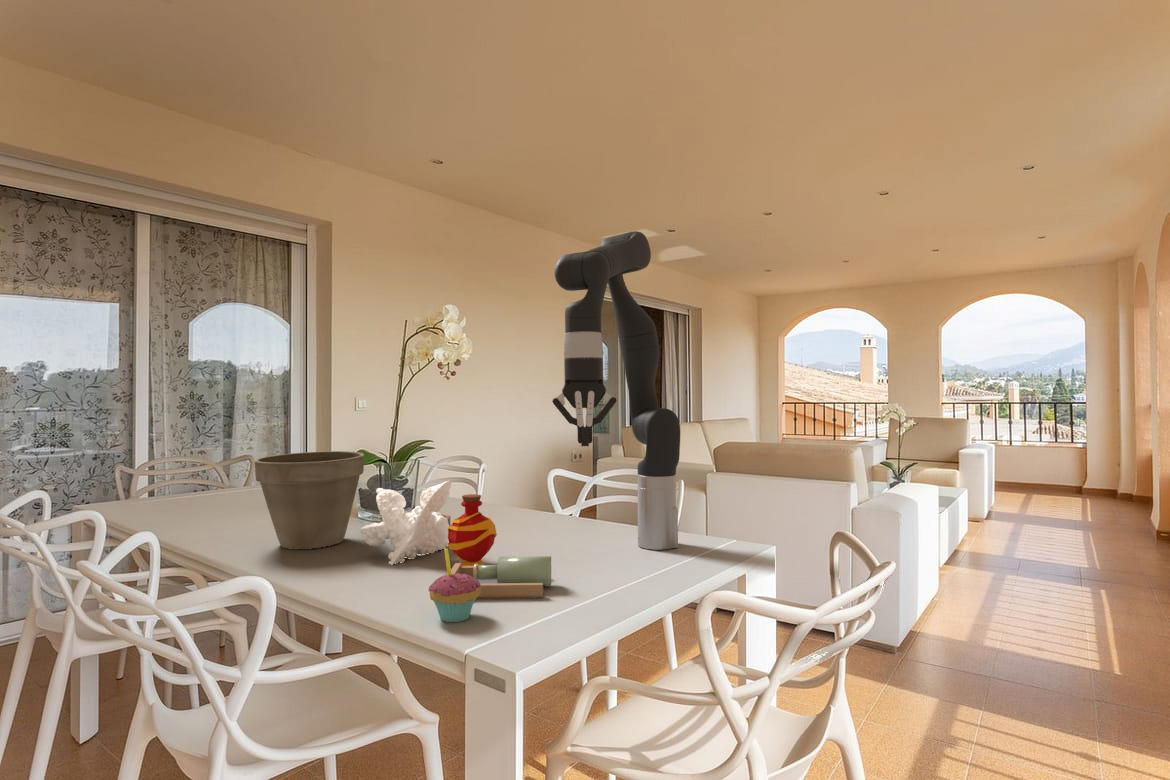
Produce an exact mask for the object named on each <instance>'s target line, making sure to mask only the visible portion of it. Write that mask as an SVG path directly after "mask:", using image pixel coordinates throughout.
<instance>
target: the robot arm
mask: <svg viewBox="0 0 1170 780" xmlns="http://www.w3.org/2000/svg"><path fill="white" fill-rule="evenodd" d="M600 244H601V245H599V246H597V247H594V248H592V249H589V250H586V251H582V252H581V251H580V252H574V253H567V254H564V255H562V256H560V258H559V259H558V260H557V262H556V263H555V265H554V266H555V267H554V279H555V281H556V283H557V284H558V285H559V287H560V288H561V289H563V290H565V291H570V292H576V291H585V290H586V294H585V295H584V297H583V298H581V299H580V300H577V301H574V302H570V303H568V304H567V305H566V307H565V309H564V332H565V333H564V336H565V337H564V343H563V350H564V351H563V357H564V358H563V360H564V367H563V369H564V384H563V387H562V390H561V393H560V394H559V395H558V396H556V397H554V398H553V399H552V404H553V405H554V406H555V408H556V409H557V410H558V411H559V412H560V414H561V415H562V416H563V418H564V419H565V420H566V421H567V422H568V424H571V425H574V426H576V429H577V442H578V444H581V445H580V446H581V447H590V444H592V443H593V427H594V426H595V425H598V424H600V423H601V422H602V421H603V420H604V418H605V417H606V416H607V415H608V413H609V412H610V411H611V409H612V408H613V407H614V405H615V404H616V403H617V401H618V400H617V398H616V397H614V396H612V395H611V394H609V393H608V392H607V388H606V386H605V384H604V346H603V344H604V343H603V335H602V310H603V309H602V308H603V303H604V299H605V293H606V291H607V288H608V290H609V293H610V297H611V300H612V302H611V303H612V307H613V311H614V317H615V322H616V323H615V324H616V330H617V336H618V341H619V349H620V355H621V356H622V357H621V358H622V361H623V367H624V374H625V380H626V385H627V389H628V390H627V391H628V399H629V413H630V423H631V431H632V433H633V435H634V437H635V439H636V440H637V441H638V442H639V443H641V444H642V445H645V455H644V457H643V459H642V460H641V461H639V462H638V464H637V545H638V547H639V548H643V549H647V550H653V551H654V550H656V551H657V550H658V551H659V550H660V551H661V550H670V549H678V548H679V508H678V507H677V467H678V465H679V462H680V451H681V449H680V448H681V424H680V423H681V422H680V420H679V418H678V416H677V414H676V412H674V411H673V410H671V409H668V408H665V407H659V403H658V399H657V398H658V396H657V393H656V377H657V372H658V367H659V361H660V344H659V337H658V334H657V327H656V324H655V322H654V321H653V319H652V318H651V317H650V315H649V314H648V313H647V312H646V311H645V310H644V308H642V306H640V305H639V303H638V302H637V301H636V300H635V299H634V297H633V296H632V295H631V294H630V291H629V290H628V287H627V285H626V282H625V279H624V275H625V274H629V273H635V272H638V271H641V270H644V269H646V268H647V267H648V266H649V264H650V262H651V259H652V257H651V256H652V254H651V253H652V251H651V246H650V243H649V240H648V239H647V236H646V235H645V234H644V233H642V232H641V231H638V230H636V231H634V230H633V231H628V232H625V233H621V234H616V235H612V236H610V237H609V236H608V237H606V238H603V240H602V241H601V243H600ZM603 398H604V399H603ZM565 399H566V400H567V401H568V402H569V404H570V406H571V408H573V409H575V415H576V416H575V417H573V416H572V414H570V412H569V411H568V410H567V408H566V407H565V405H566V401H565ZM602 399H603V402H602V403H603V407H602V408H601V409H600V411H599V412H598V413H597V414H596V416H594V409H596V407H597V406H598V405H599V403H600V402H601V401H602ZM583 409H586V410H585V421H584V413H583ZM584 422H585V423H584Z"/></svg>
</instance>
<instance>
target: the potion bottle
mask: <svg viewBox="0 0 1170 780" xmlns="http://www.w3.org/2000/svg"><path fill="white" fill-rule="evenodd" d="M461 497H462V502H461V503H460V504H461V505H460V506H461V507H464V513H463V514H461V515H460V516H459V517H457V518H454V519H453V520H452V522H451V523H450V526H449V527H448V543H447V548H448V550H450V551H451V550H452V551H453V553H454V555H455V556H456V557H457V559H460V560H461V562H460V563H461V566H474V564H478V565H485V563H484V562H483V561H482V559H483V558H484V557H485V556H486V555H487V554H488V553H489V551H491V549H492V547H493V546H494V543H495V539H496V537H497V535H498V534H497V529H496V525H495V523H494V522H493V520H492V519H491V517H487V516H485V515H483V513H482V512H480V511H479V507H480V506H482V504H483V501H482V500H481V499H482V495H481V494H478V493H477V494H476V493H474V494H473V493H469V494H463V495H462V496H461Z"/></svg>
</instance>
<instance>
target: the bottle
mask: <svg viewBox="0 0 1170 780" xmlns="http://www.w3.org/2000/svg"><path fill="white" fill-rule="evenodd" d="M497 558H498V559H497V564H484V565H478V564H474V570H473V577H474V578H475V579H478V578H497V583H543V586H544V587H545V586H547V587H548V586H552V556H551V555H550V556H549V555H548V556H547V555H546V556H544V555H542V556H541V555H536V556H533V555H531V556H498V557H497Z"/></svg>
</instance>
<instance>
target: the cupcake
mask: <svg viewBox="0 0 1170 780" xmlns="http://www.w3.org/2000/svg"><path fill="white" fill-rule="evenodd" d="M444 545H445V549H444V550H443V551H444V559H445V565H446V572H447V574H444V575H442V576H440V577H438V578H437V579H435V580H434V581H433V582H432V584H430V585H429V586H428V592H429V598H430V601H433V602H434V605H435V607H436V610H437V613H438V615H439V619H440V620H441V621H442V622H445V623H458V622H459V623H460V622H463V621H467V619H469V617H470V616H471V612H472V608H473V605H474V603H475V601H476V600H477V599H476V598H477V597H478V596H479V595H480V594H481V592H482V589H481V585H480V582H479V581H478V580H477V579H475V578H473V577H472V576H469V575H467V574H462V573H461V574H452V573H451V569H452V568H451V567H452V566H451V560H450V553H449V548H448V547H447V546H446V544H444Z"/></svg>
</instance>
